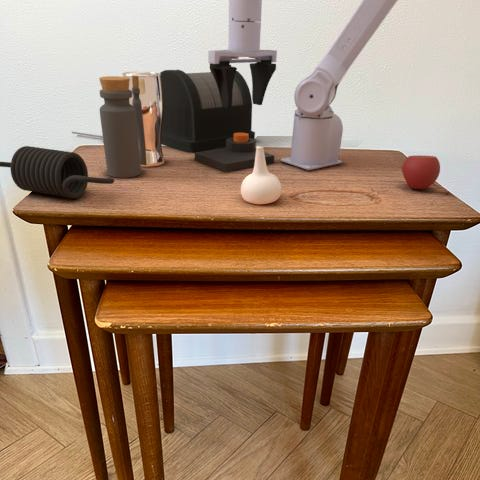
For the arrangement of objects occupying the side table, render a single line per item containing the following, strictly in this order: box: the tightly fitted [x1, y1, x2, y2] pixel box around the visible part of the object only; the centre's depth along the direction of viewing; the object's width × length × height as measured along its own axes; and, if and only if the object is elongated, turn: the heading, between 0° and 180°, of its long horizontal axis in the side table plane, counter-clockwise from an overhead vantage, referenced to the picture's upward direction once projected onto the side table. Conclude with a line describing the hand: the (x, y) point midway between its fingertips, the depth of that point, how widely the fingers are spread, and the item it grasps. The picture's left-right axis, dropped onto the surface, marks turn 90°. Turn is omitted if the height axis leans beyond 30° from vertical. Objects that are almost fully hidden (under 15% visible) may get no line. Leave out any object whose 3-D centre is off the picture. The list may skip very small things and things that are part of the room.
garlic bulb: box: [240, 145, 282, 205], centre depth 69 cm, size 6×6×8 cm
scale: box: [194, 137, 275, 173], centre depth 90 cm, size 13×11×3 cm
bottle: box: [98, 75, 142, 179], centre depth 77 cm, size 6×6×15 cm
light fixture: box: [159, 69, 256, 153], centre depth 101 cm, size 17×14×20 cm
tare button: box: [233, 133, 249, 142], centre depth 92 cm, size 3×3×2 cm
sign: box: [71, 131, 103, 139], centre depth 102 cm, size 5×1×15 cm
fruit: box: [401, 155, 449, 195], centre depth 77 cm, size 6×6×8 cm
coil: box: [0, 145, 115, 200], centre depth 69 cm, size 7×20×9 cm
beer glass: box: [121, 71, 165, 168], centre depth 83 cm, size 7×7×15 cm
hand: (242, 105), depth 89 cm, fingers open, 7 cm apart
